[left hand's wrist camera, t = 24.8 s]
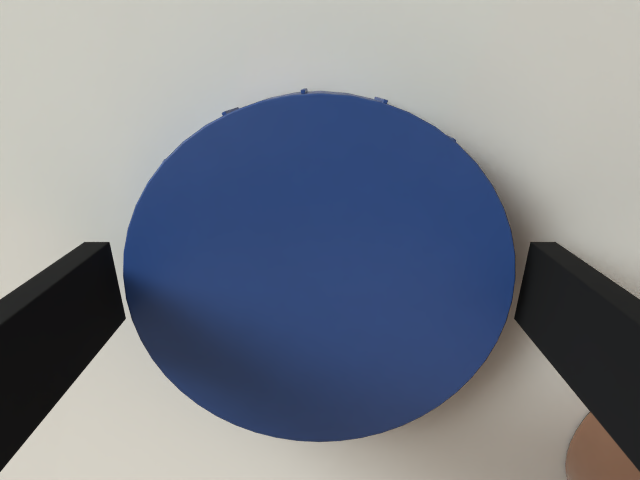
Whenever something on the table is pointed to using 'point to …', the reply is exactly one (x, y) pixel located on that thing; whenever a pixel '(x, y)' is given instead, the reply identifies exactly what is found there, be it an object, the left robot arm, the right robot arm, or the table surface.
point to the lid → (319, 267)
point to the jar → (597, 455)
